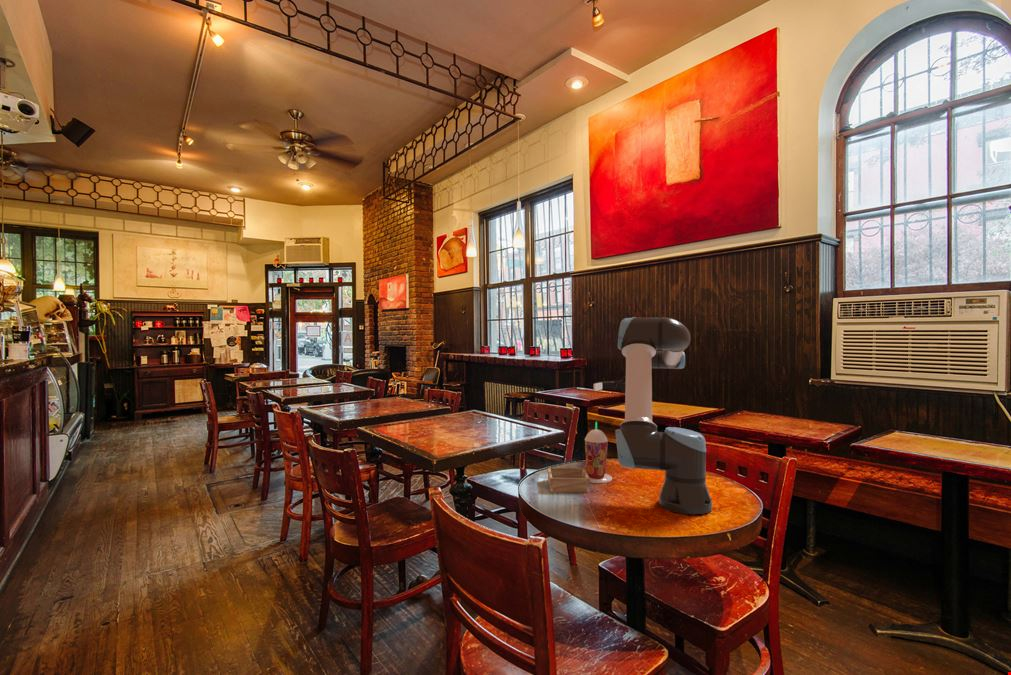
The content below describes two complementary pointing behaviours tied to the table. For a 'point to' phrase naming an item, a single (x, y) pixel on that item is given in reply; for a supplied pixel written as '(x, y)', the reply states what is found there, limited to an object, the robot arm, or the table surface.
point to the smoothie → (596, 453)
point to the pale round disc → (605, 479)
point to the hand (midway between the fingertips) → (610, 388)
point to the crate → (568, 480)
